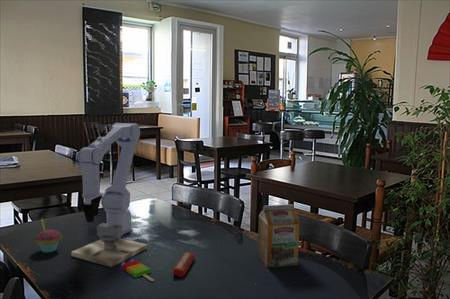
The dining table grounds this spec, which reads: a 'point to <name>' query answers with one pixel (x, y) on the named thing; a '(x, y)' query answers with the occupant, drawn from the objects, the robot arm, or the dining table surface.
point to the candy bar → (183, 264)
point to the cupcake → (48, 239)
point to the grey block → (109, 232)
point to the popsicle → (137, 269)
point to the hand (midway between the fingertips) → (92, 218)
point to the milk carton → (278, 236)
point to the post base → (109, 251)
